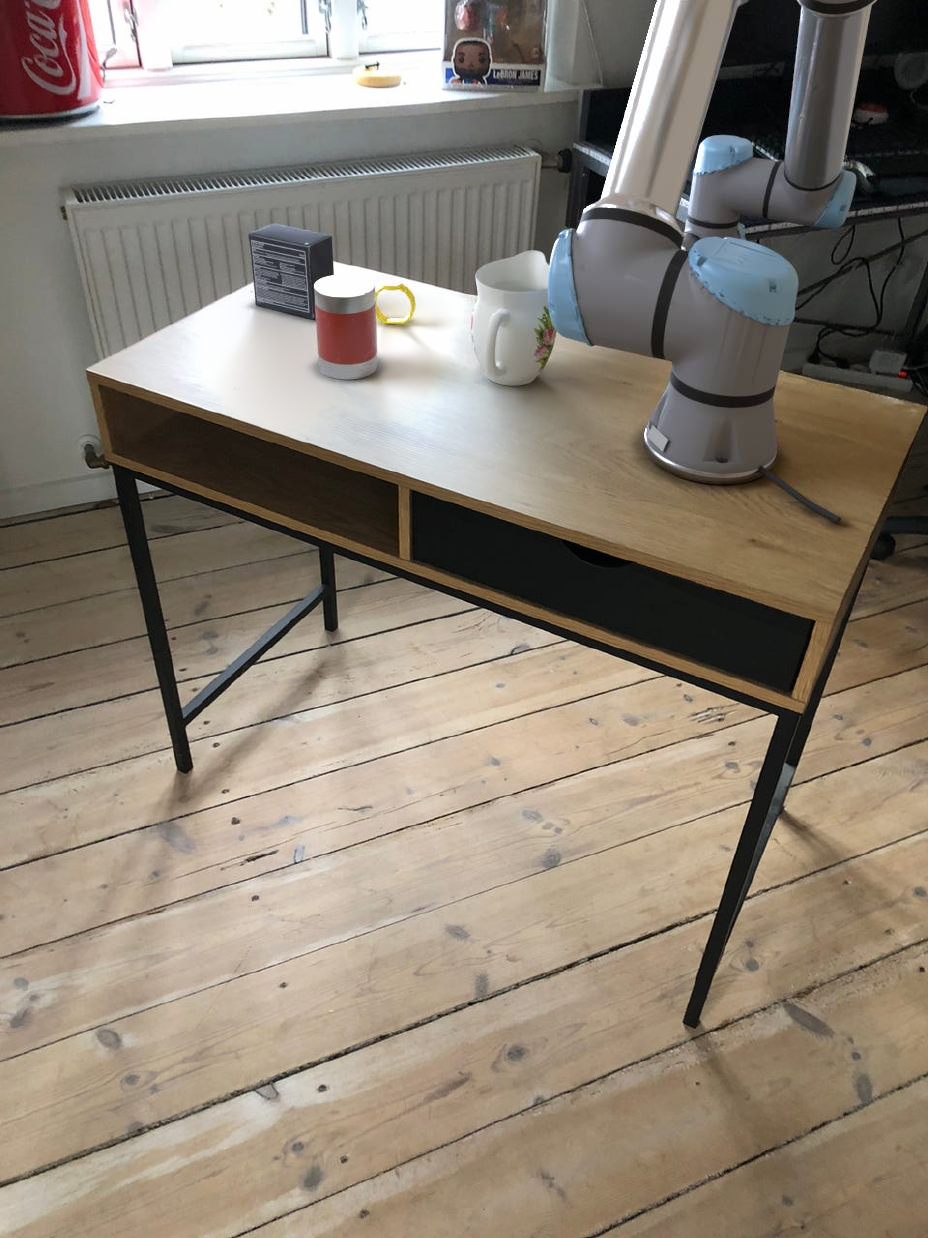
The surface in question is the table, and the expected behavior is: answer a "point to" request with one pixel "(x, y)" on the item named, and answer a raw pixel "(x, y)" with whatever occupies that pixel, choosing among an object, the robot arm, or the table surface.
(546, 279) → the pitcher
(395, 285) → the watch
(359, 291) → the tin can
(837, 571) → the table surface
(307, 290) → the small box
